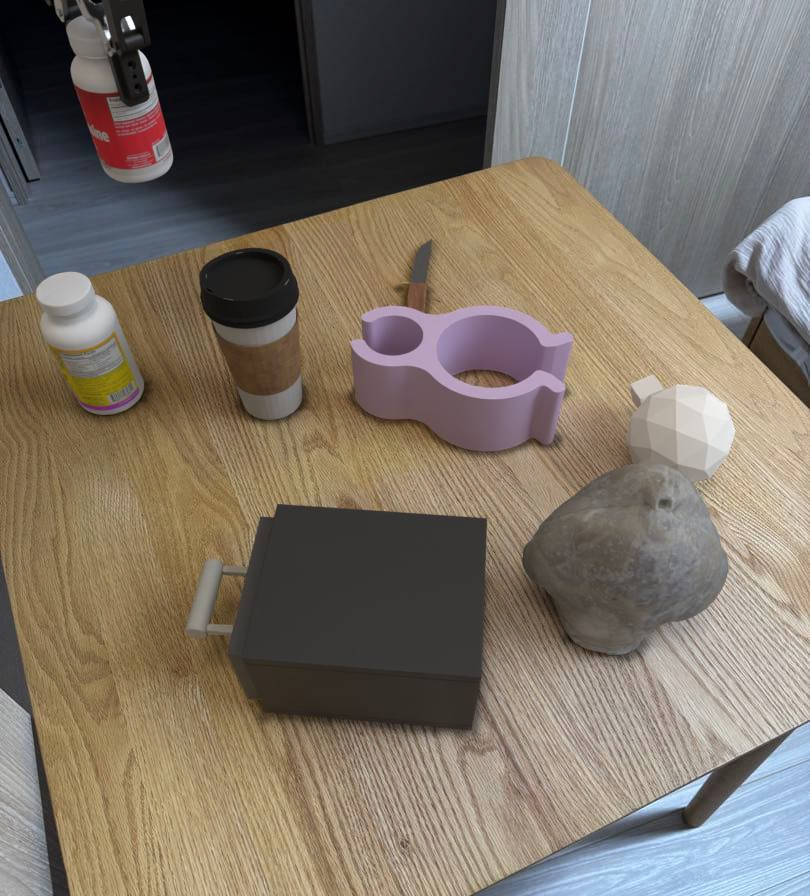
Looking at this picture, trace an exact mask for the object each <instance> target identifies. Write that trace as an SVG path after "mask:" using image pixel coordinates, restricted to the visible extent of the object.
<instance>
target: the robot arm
mask: <svg viewBox="0 0 810 896" xmlns="http://www.w3.org/2000/svg"><path fill="white" fill-rule="evenodd" d="M44 1H45V3H46V4H47V6H49V7H51V6H54V9H55V13H56V15H57V17H58V18H59V20H60V22H62V23H64V24H65V28H66V27H67V25H68V24H69V22H71V21H72V20H73V19H75V18H77V17H80V16H82V15H83V17H84V18H85V19H86V20H87V21H89V22H92V23H93V24H94V25H95V27H96V30H97V32H98V34H99V36H100V39H101V41H102V43H103V45H104V48H105V50H106V52H107V53H108V54H107V56H108V60H109V63H110V66H111V70H112V73H113V76H114V80H115V83H116V87H117V90H118V93H119V97H120V100H121V101H122V102H123V103H124V104H125V105H126V106H128V107H133V106H136V105H138V104H141V103H144V102H146V101H148V99H149V97H150V93H149V89H148V86H147V82H146V78H145V74H144V71H143V67H142V63H141V59H140V56H139V52H138V50H139V51H140V50H141V49H145V48H148V47H150V46H152V41H151V36H150V30H149V26H148V21H147V16H146V10H145V7H144V2H143V0H101V2H98V3H95V2H93V1H92V0H44ZM104 17H106V19H107V23H108V26H107V24H106V22H105V19H104ZM65 22H66V23H65ZM121 25H122V27H123V29H124V31H122V27H121ZM108 27H109V29H108ZM76 55H77V54H75V53H74V56H76Z"/></svg>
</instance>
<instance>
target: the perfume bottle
mask: <svg viewBox="0 0 810 896" xmlns="http://www.w3.org/2000/svg"><path fill="white" fill-rule="evenodd" d="M629 389H630V395H631V402H632V403H633V405H635V407H636V408H637V409H635V410H634V411H633V413H632V414H631V415H630V418H629V423H628V427H627V432H626V436H625V443H626V446H627V449H628V452H629V455H630V458H631V461H632V464H637V463H656V464H662V465H666V466H669V467H672V468H674V469H676V470H677V471H679V472H680V473H682V474H684V476H685V477H686V478H687V479H689V480H690V481H691V482H692V483H693V484H696V483H699V482H703V481H707V480H711V478H712V477H713V476H714V475H715V473H716V472H717V471H718V469H719V468H720V467H721V466H722V464H723V463H724V462H725V461H726V459H727V458H728V457H729V454H730V451H731V448H732V446H733V445H732V444H733V442H734V439H735V436H736V432H737V431H736V429H735V425H734V422H733V419H732V417H731V414H730V411H729V407H728V405H727V404H726V403H725V402H724V401H722V400H721V399H720V398H718V397H717V396H716V395H714V394H713V393H712V392H710V391H709V390H707V389H706V388H705V387H703V386H697V385H689V384H679V383H675V384H673V385H671V386H668V387H666V388H664V386H662V384H661V382H660V381H659V380H658V378H657V377H656V376H655V375H654V374H653V373H652V374H650V375H647V376H645V377H643V378H640V379H639V380H636V381H634V382H632V383H629Z"/></svg>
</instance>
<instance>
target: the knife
mask: <svg viewBox="0 0 810 896" xmlns="http://www.w3.org/2000/svg"><path fill="white" fill-rule="evenodd" d="M432 242H433V238H431V239H429V240H428V241H426V242H425V243H423V244H422V245H420V247H419V249H418V250H417V252H416V253H415V255H414V256H415V257H414V262H413V268H412V272H411V278H410V281H409V282H408V281H401V282H400V286H401V287H408V292H407V299H406V307H409V308H412V309H415V310H418V311H420V312H423V313H426V303H427V293H428V292H427V291H428V283H427V277H428V276H427V274H428V269H429V263H430V256H431V250H432Z"/></svg>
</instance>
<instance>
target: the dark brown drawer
mask: <svg viewBox="0 0 810 896" xmlns="http://www.w3.org/2000/svg"><path fill="white" fill-rule="evenodd" d="M273 520H274V516H260V517H259V520H258V524H257V529H256V532H255V537H254V540H253V541H254V542H253V545H252V549H251V554H250V558H249V563H248V564H247V565H248V566H241V565H230V564H227V565H226V564H225V563H224V562H223V561H221V560H220V559H217V558H206V559H205V560H204V561H203V564H202V567H201V572H200V575H199V579H198V581H197V585H196V588H195V593H194V596H193V599H192V602H191V606H190V610H189V614H188V617H187V621H186V625H185V627H184V634H185V635H186V636H187V637H189V638H193V639H198V640H200V639H205V638H206V637H207V636H208V635H215V636H216V635H217V636H228V637H230V639H229V643H228V647H227V651H226V656H227V658H228V660H229V662H230V664H231V666H232V668H233V670H234V672H235V674H236V677H237V679H238V681H239V683H240V685H241V687H242V689H243V691H244V693H245V695H246V697H247V699H248V700H256V701H260V699H259V696H258V694H257V692H256V690H255V687H254V685H253V683H252V681H251V678H250V676H249V674H248V672H247V669H246V667H245V665H244V663H243V661H242V653H243V649H244V645H245V640H246V636H247V632H248V627H249V623H250V619H251V614H252V610H253V606H254V602H255V597H256V593H257V589H258V584H259V580H260V576H261V571H262V567H263V563H264V558H265V554H266V550H267V546H268V541H269V537H270V533H271V528H272V524H273ZM223 576H229V577H243V578H244V577H245V578H244V582H243V586H242V590H241V595H240V598H239V601H238V606H237V611H236V614H235V618H234V623H233V625H232V624H220V623H211V622H212V617H213V613H214V610H215V607H216V603H217V599H218V595H219V591H220V587H221V583H222V580H223Z"/></svg>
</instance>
